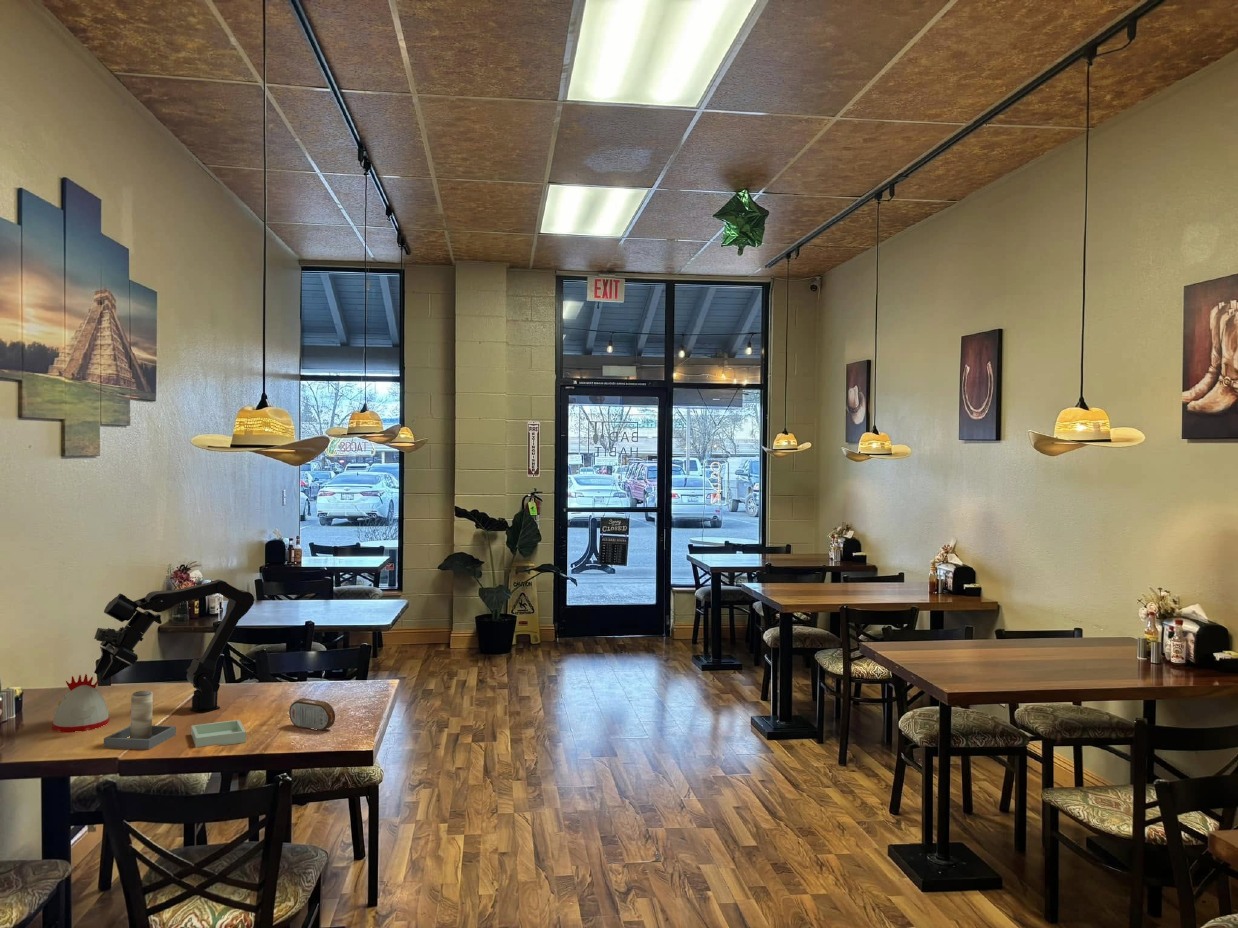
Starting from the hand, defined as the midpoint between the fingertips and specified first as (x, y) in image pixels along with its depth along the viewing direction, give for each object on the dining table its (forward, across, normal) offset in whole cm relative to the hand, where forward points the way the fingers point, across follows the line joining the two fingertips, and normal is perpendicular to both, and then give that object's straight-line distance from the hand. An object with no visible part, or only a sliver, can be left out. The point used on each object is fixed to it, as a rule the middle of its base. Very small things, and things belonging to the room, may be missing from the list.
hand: (99, 676), depth 244 cm
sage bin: (-1, +32, +27) cm, 42 cm away
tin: (-15, +38, +47) cm, 63 cm away
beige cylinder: (+8, +23, +13) cm, 27 cm away
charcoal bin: (+9, +23, +13) cm, 28 cm away
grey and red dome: (+14, -5, +6) cm, 16 cm away
